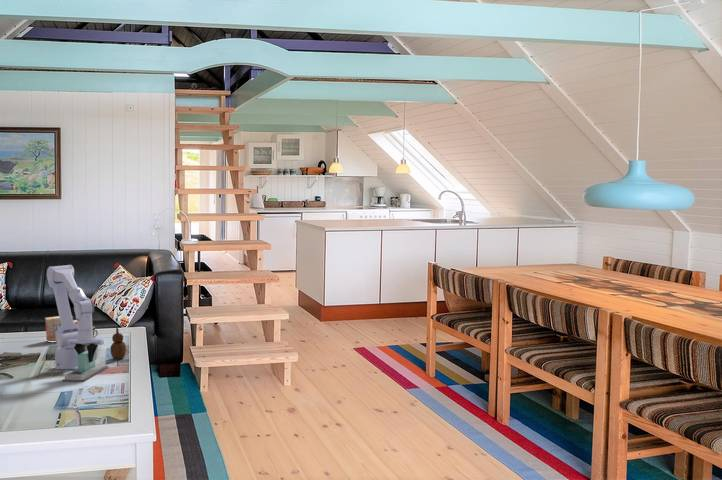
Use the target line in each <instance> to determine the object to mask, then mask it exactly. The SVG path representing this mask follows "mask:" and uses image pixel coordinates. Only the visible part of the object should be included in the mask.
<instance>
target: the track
mask: <svg viewBox="0 0 722 480" xmlns="http://www.w3.org/2000/svg"><path fill="white" fill-rule="evenodd" d="M106 369H109V366H108V365H107V361H102V362H100V363H98V364H95V366H94V367H92V368H90V369H89V370H87V371H85V372H78V368H77V369H72V371H70V372H68V373H66V374H64V378H63V379H62V382H68V383H69V382H70V383H71V382H74V383H76V382H81V383H84V382H86V381H88V380H90V379H91V378H93V377H94V376H96V375H98V374H100V373H102V372H103V371H105V370H106Z"/></svg>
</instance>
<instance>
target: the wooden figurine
mask: <svg viewBox="0 0 722 480" xmlns="http://www.w3.org/2000/svg"><path fill="white" fill-rule="evenodd" d="M118 327H119V326H117V325H116V327H115V328H116V331H115V333H114V334H113V335H112V338H111V339H112V344H111V345H110V354H111V357H112V359H114V360H121V359H124V358H125V355H126V353H127V347H126V346H127V345H126V343H125V342H124V335H123V333H120V332H119V331H120V330H119V328H118Z"/></svg>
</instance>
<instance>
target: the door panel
mask: <svg viewBox="0 0 722 480" xmlns="http://www.w3.org/2000/svg"><path fill="white" fill-rule="evenodd" d="M77 361H78V372H85V371H87V370H89V369H90V368H92V367H94V366H96V352H95V353H94V357H93V361H92V362H89V355H88V350H85V351H84V352H83V353H81V354H79V355H77Z"/></svg>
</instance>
